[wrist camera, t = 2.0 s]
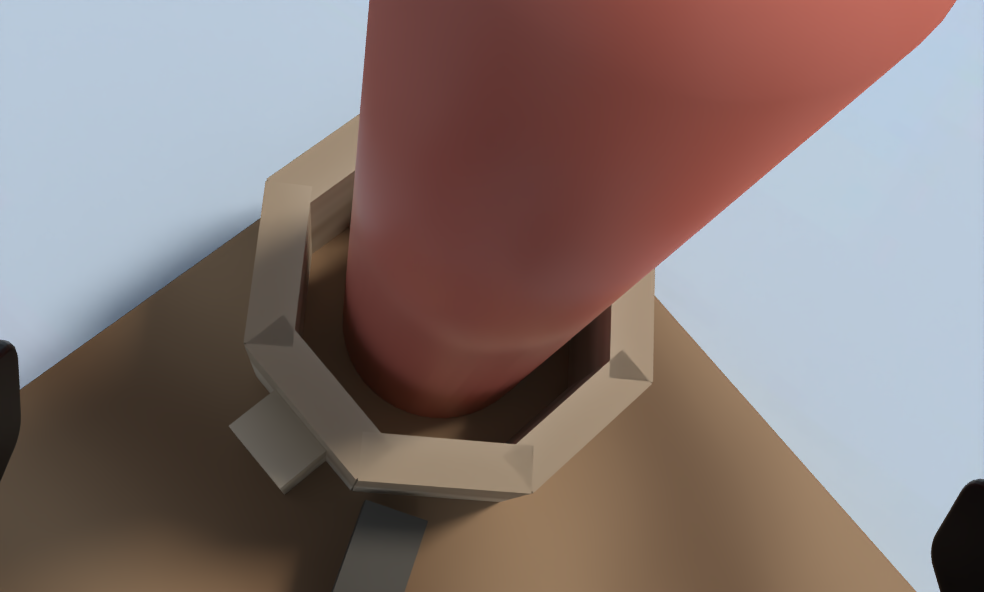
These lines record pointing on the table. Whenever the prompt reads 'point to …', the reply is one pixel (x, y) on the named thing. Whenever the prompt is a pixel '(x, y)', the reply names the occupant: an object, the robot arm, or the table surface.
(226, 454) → the walnut board
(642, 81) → the red plug
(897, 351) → the table surface
